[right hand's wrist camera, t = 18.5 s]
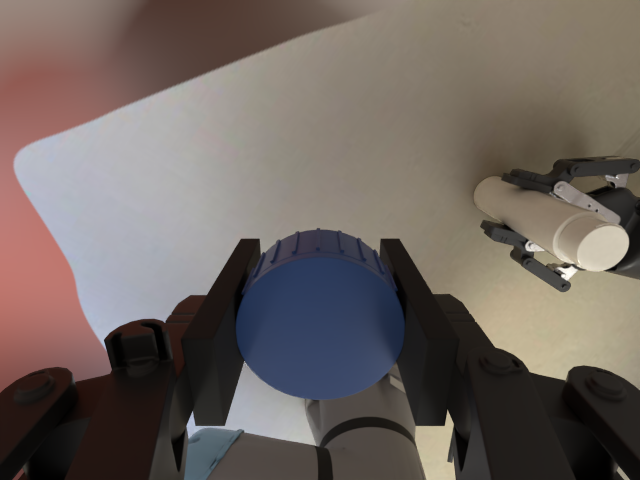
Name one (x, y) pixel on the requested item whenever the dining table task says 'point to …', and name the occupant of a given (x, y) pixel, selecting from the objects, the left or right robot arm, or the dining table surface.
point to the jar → (554, 224)
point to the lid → (320, 316)
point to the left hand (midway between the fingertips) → (496, 203)
